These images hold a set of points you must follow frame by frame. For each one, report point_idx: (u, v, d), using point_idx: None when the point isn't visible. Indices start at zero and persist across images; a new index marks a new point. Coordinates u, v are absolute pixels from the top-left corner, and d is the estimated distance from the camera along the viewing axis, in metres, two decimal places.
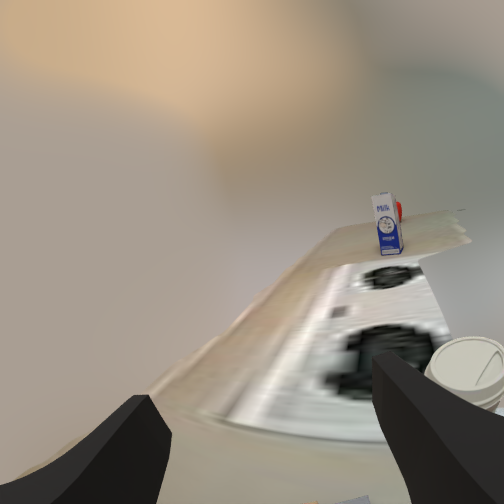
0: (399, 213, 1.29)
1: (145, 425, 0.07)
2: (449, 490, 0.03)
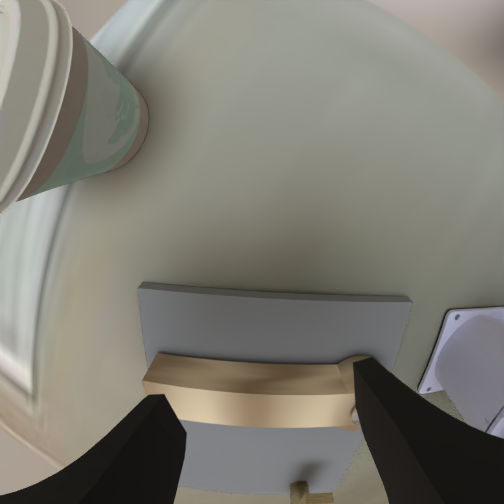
0: None
1: (162, 425, 0.07)
2: None
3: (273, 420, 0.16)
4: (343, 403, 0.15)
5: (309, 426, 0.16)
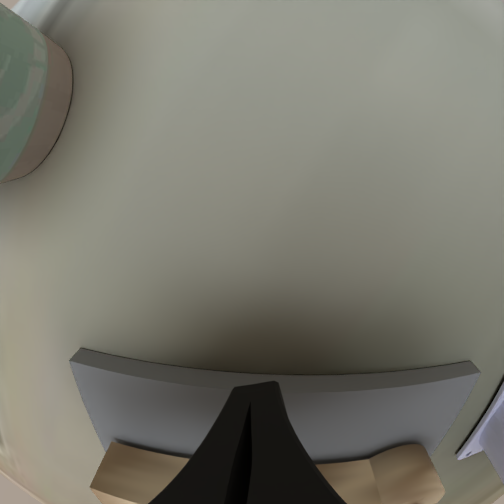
0: None
1: None
2: None
3: None
4: None
5: None
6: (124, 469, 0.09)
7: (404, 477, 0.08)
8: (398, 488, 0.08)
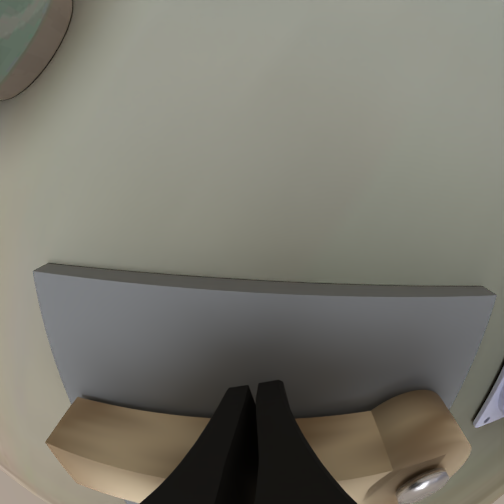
0: None
1: (251, 419, 0.07)
2: None
3: None
4: (384, 482, 0.06)
5: None
6: (84, 423, 0.08)
7: (417, 428, 0.07)
8: (410, 442, 0.07)
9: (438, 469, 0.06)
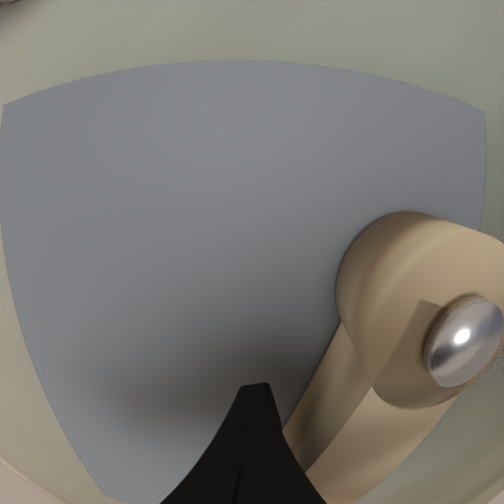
0: None
1: None
2: None
3: (363, 482, 0.06)
4: (400, 390, 0.05)
5: (420, 439, 0.06)
6: None
7: (355, 314, 0.06)
8: (357, 340, 0.06)
9: (483, 297, 0.04)
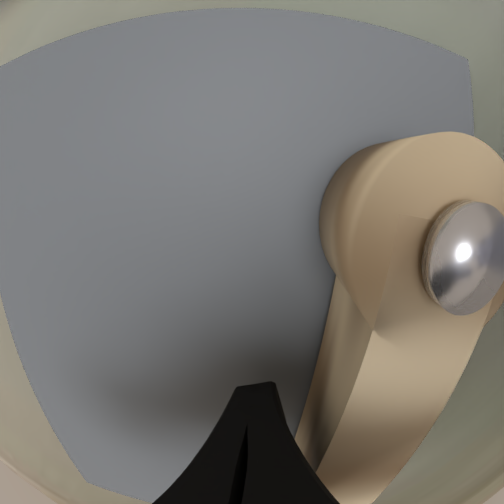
0: None
1: None
2: None
3: (398, 451, 0.06)
4: (409, 331, 0.05)
5: (451, 390, 0.05)
6: None
7: (337, 254, 0.06)
8: (345, 280, 0.05)
9: (483, 204, 0.04)
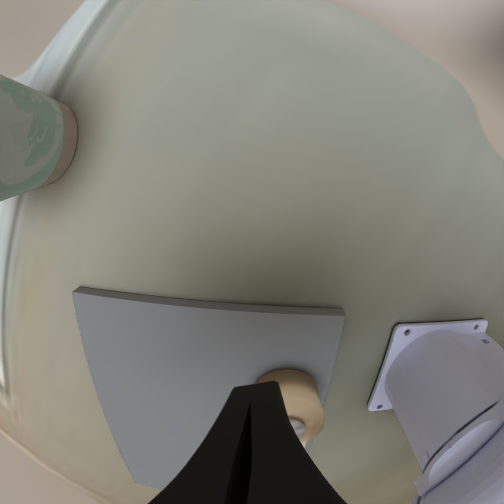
0: None
1: None
2: None
3: None
4: None
5: None
6: None
7: None
8: None
9: (293, 419, 0.14)
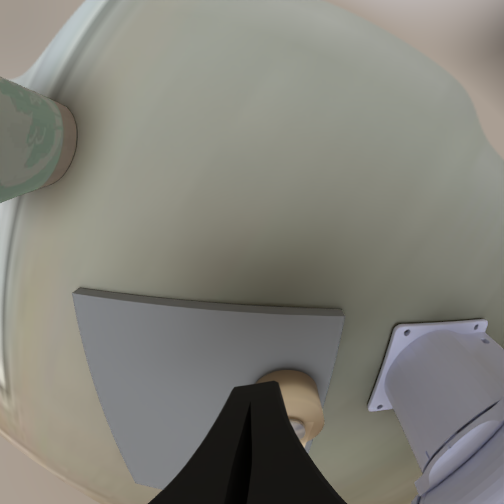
0: None
1: None
2: None
3: None
4: None
5: None
6: None
7: None
8: None
9: (293, 419, 0.14)
